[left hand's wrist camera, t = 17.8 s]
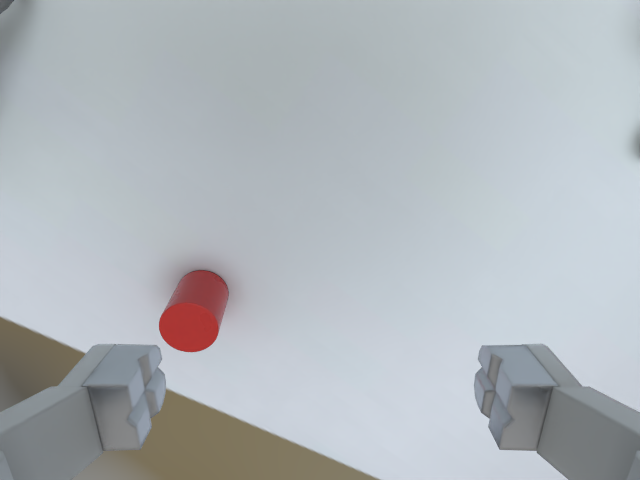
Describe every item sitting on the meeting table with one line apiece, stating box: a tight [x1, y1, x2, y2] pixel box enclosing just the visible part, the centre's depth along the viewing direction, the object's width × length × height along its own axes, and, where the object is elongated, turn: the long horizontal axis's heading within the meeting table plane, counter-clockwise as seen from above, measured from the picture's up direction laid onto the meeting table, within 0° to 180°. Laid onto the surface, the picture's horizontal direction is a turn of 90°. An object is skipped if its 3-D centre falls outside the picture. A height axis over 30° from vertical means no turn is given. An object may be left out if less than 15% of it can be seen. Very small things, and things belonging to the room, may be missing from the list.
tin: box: [159, 270, 228, 352], centre depth 27 cm, size 4×4×4 cm
